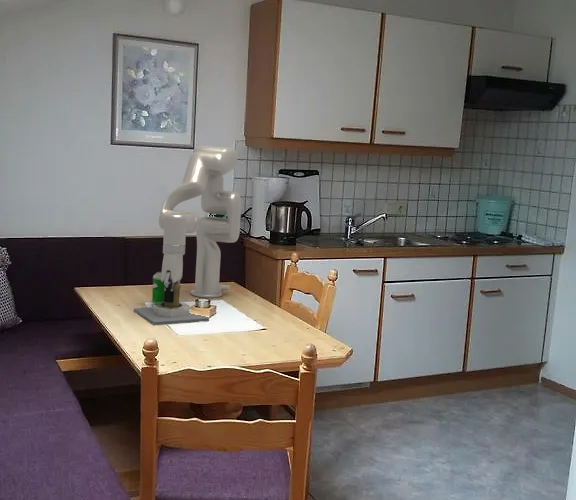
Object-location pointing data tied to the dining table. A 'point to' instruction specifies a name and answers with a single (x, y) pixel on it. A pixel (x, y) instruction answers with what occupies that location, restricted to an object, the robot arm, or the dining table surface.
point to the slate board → (159, 320)
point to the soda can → (158, 288)
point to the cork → (176, 297)
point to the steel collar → (170, 310)
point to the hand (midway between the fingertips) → (171, 299)
